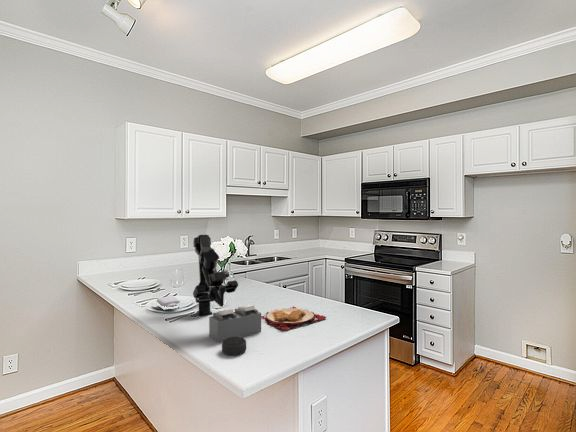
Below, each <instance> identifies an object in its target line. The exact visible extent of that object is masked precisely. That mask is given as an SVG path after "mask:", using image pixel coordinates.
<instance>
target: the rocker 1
mask: <svg viewBox="0 0 576 432" xmlns="http://www.w3.org/2000/svg"><path fill="white" fill-rule="evenodd" d="M233 312H234V309H232V308H230V309H224V310H219V311H216V312H215V313H217V314H219V315H226V314H231V313H233Z"/></svg>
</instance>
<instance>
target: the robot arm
mask: <svg viewBox="0 0 576 432" xmlns="http://www.w3.org/2000/svg"><path fill="white" fill-rule="evenodd" d="M192 245H193V248H194V252H195V253H196V254H197V257H198V272H199V275H198V276H199V283H198V285H196V286H195V288H194V290H193V292H192V295H193V298H194V299H195V303H196V304H198V310H197V311H196V314H197V315H198V316H201V317H202V316H208V315H213V311H211V302H215V303H216V304H217V305H218V306H219V307H221V308H222V307H224V301H225V300H224V299H225V298H224V294H225V293H227V294H230V293H235V291H236V290H237V288H238V287H239V283H238V281H237V280H235V279H234V280H229V281H227V283H226V284H224V282H225V281H224V280H226V279H227V278H229V277H230V273H229V270H228V269H223V270H222V271H217V267H218V261H219V259H220V256H219V254H218V252H216V251H215V249H214V248H212V246H211V245H212V241H211V237H210V236H209V234H198V236H196V237H194V238H193V243H192Z"/></svg>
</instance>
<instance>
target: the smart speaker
mask: <svg viewBox="0 0 576 432" xmlns="http://www.w3.org/2000/svg"><path fill="white" fill-rule="evenodd" d="M221 351H222V353H224V354H225V355H228V356H239V355H242V354H244V353H245V352H246V351H247V340H246V339H245V338H243V337H230V338H227V339H225V340H224V341H221Z"/></svg>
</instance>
